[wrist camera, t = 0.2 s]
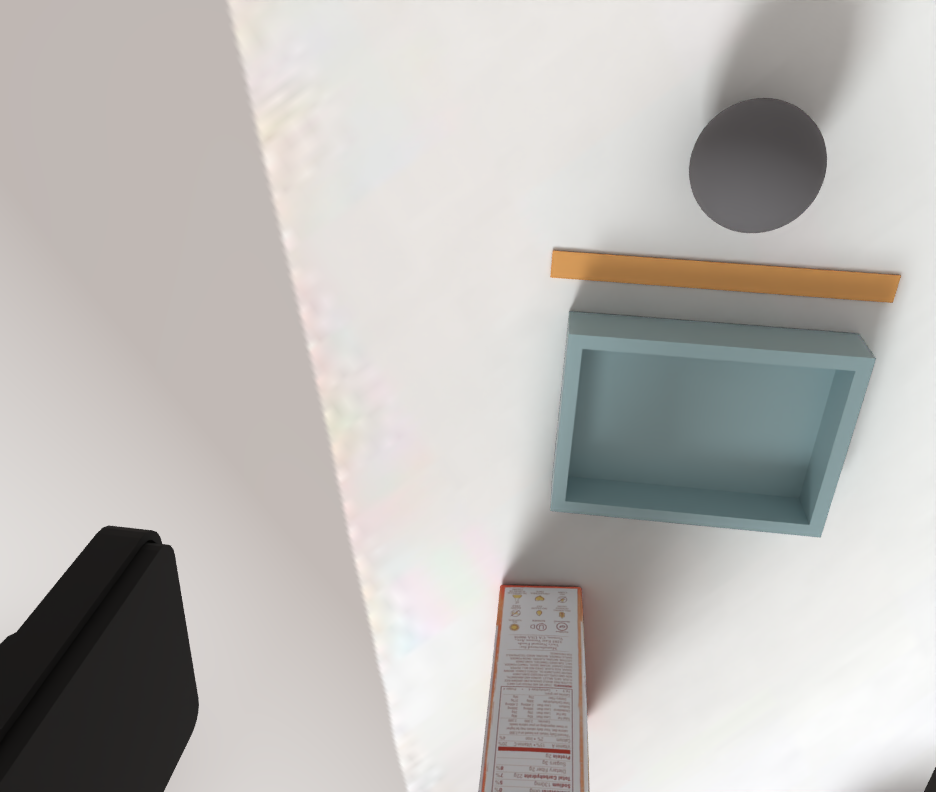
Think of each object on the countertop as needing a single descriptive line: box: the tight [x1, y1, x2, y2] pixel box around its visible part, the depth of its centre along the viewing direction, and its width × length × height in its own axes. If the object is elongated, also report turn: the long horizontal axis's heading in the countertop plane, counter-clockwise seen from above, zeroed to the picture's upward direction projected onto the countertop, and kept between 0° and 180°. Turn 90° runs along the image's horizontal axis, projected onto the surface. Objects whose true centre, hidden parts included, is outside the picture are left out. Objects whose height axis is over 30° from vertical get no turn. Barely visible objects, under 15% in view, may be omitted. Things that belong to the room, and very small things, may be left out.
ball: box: [689, 98, 827, 233], centre depth 38 cm, size 6×6×6 cm
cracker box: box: [478, 585, 589, 792], centre depth 50 cm, size 14×6×21 cm, turn 4°
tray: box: [550, 250, 901, 537], centre depth 46 cm, size 15×18×3 cm
